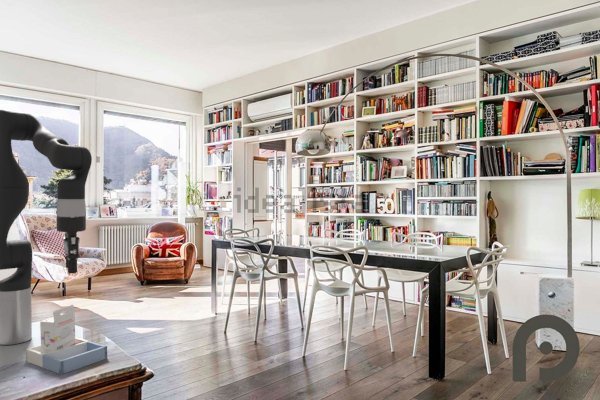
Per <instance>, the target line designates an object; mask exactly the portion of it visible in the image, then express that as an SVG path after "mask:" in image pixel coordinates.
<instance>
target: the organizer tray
mask: <svg viewBox="0 0 600 400" xmlns="http://www.w3.org/2000/svg"><path fill="white" fill-rule="evenodd" d="M106 359H108V346H107V345H104V344H101V343H97V342H94V341H90V340H87V339H83V338H80V337H77V336H75V345H72V346H69V347H66V348H62V349H59V350H56V351H52V352H49V353H46V354H44V353H41V344H39V345H36V346H31V347H28V348H25V362H27V363H29V364H33V365H35V366H37V367H40V368H43V369H46V370H48V371H51V372H53V373H56V374H58V375H63V374H66V373H69V372H72V371H75V370H78V369H80V368H84V367H86V366H89V365H93V364H95V363H98V362H101V361H103V360H106Z"/></svg>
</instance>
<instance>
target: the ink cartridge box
mask: <svg viewBox="0 0 600 400" xmlns="http://www.w3.org/2000/svg"><path fill="white" fill-rule="evenodd" d="M63 312H65V313H63ZM52 314H53V315H52V317H49V318H47V319H43V320H41V321H40V322H39V324H40V327H39V328H40V345H41V353H44V354H46V353H49V352H52V351H56V350H59V349H62V348H66V347H69V346H72V345H75V337H76V319H75V317H76V315H75V309H74V305H73V304H70V305H68V306H65V307H62V308H59V309H58V310H54V311H53V312H52Z"/></svg>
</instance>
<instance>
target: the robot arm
mask: <svg viewBox="0 0 600 400" xmlns="http://www.w3.org/2000/svg"><path fill="white" fill-rule="evenodd" d="M12 141H20V142H21V141H31V142H32V144H33V145H32V146H33V147H34V149H35V150H36V151H37V152H38V153H39V154H41V155H43V156H44V157H46V158H47V159H48V161H49V163H50V165H51V166H52V167H54V168H56V169H58V170H63V171H64V170H66V171H68V170H69V171H72V173H71V175H70V176H69V177H65V178H60V179H59V180H58V182H57V202H56V231H57V232H60V233H64V237H63V239H62V240H63V250H64V254H65V268H66V269H67V270H68V271H67V272H68V274H76V273H78V259H79V257H80V255H79V252H80V237H79V236H78V234H77V233H79V232H84V231H86V229H87V228H86V227H87V205H86V183H87V179H88V175H89V172H90V169H91V167H92V161H93V158H92V154H91V152H90V150H89V149H88V148H87V147H85V146H82V145H81V146H79V145H70V144H69V143H68V142H67V141H66V140H65V139H64V138H62V137H60V136H58V135H57V134H56V133H53V132H52V131H50V130H49V129H48V128H47V127H46V126H45V125H44V124H42V122H41V121H40V120H39V119H37V118H36V117H35V116H34V115H32V114H31V113H29V112H24V111H16V110H10V109H0V271H1V270H10V269H16V271H14V273H13V274H11V275H9V276H7V277H6V278H3V279H1V280H0V345H3V346H10V345H11V346H12V345H18V344H22V343H25V342H28V341H30V340H31V339H32V338H33V337H32V336H33V333H32V332H33V331H32V329H33V328H32V326H33V324H32V323H33V322H32V276H33V275H32V274H33V273H32V272H33V247H32V243H31V242H30V241H29V240H28V239H15V240H12V239H11V240H8V236H9V233H10V229H11V227H12V226H13V224H14V223H15V221H16V219H18V216H20V215H21V213H22V212H23V210H24V209H25V207H26V206H27V204H28V202H29V190H30V189H29V186H30V184H29V183H30V182H29V179H28V177H27V176H26V175H27V174H25V172H24V170H23V169H22V167H21V166H20V164H19V163H18V161H17V160H16V157H15V156H14V153H13V148H12Z"/></svg>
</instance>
